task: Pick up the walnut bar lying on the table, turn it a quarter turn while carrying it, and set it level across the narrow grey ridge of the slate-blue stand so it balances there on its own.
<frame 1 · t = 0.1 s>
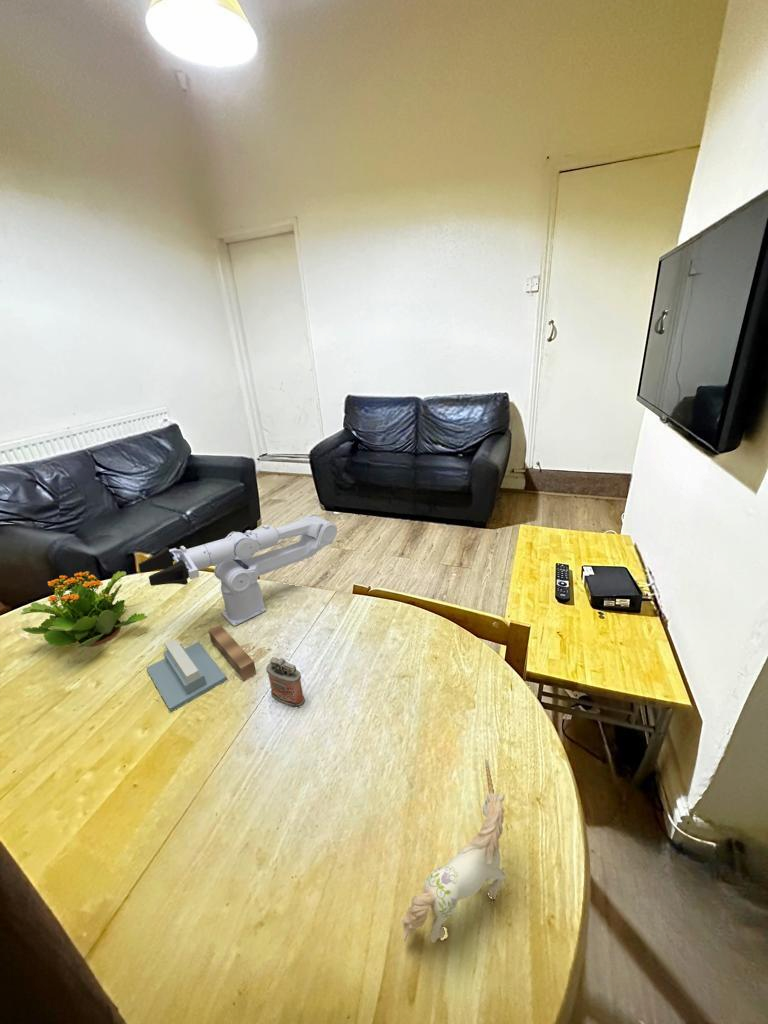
hand: (144, 574, 92), 22 cm above the table, tool horizontal, fingers open, 7 cm apart
lighter: (288, 698, 86), on the table
walnut bar: (232, 657, 98), on the table
unicorn figurine: (451, 876, 57), on the table
potted flower: (101, 636, 107), on the table
ridge stand: (186, 675, 93), on the table
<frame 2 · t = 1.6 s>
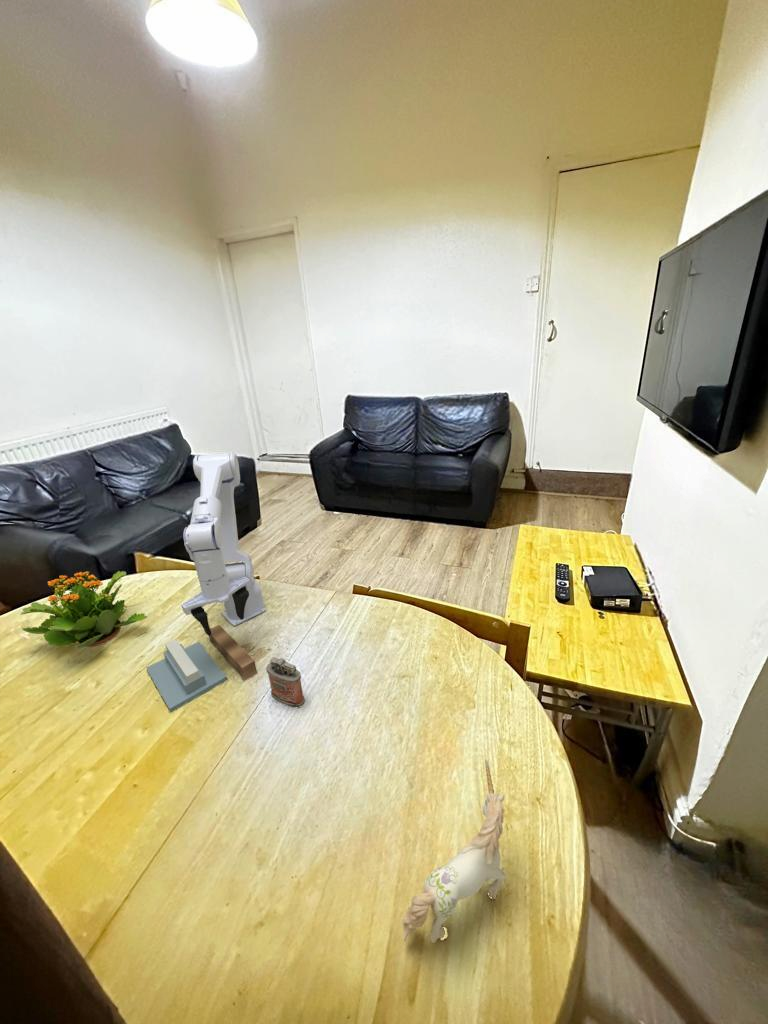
hand: (224, 625, 94), 9 cm above the table, tool pointing down, fingers open, 7 cm apart
nothing on the table moved.
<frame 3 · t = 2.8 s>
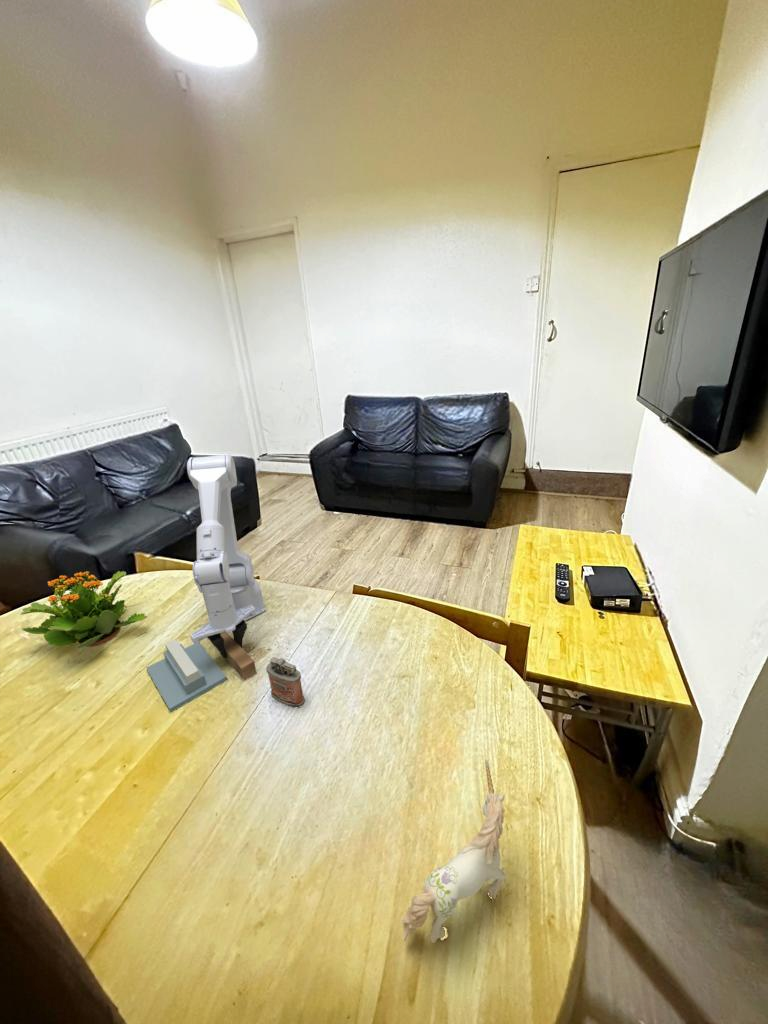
hand: (231, 652, 97), 1 cm above the table, tool pointing down, fingers closed on walnut bar, 3 cm apart
walnut bar: (232, 657, 98), on the table, touching gripper
everything else where it was.
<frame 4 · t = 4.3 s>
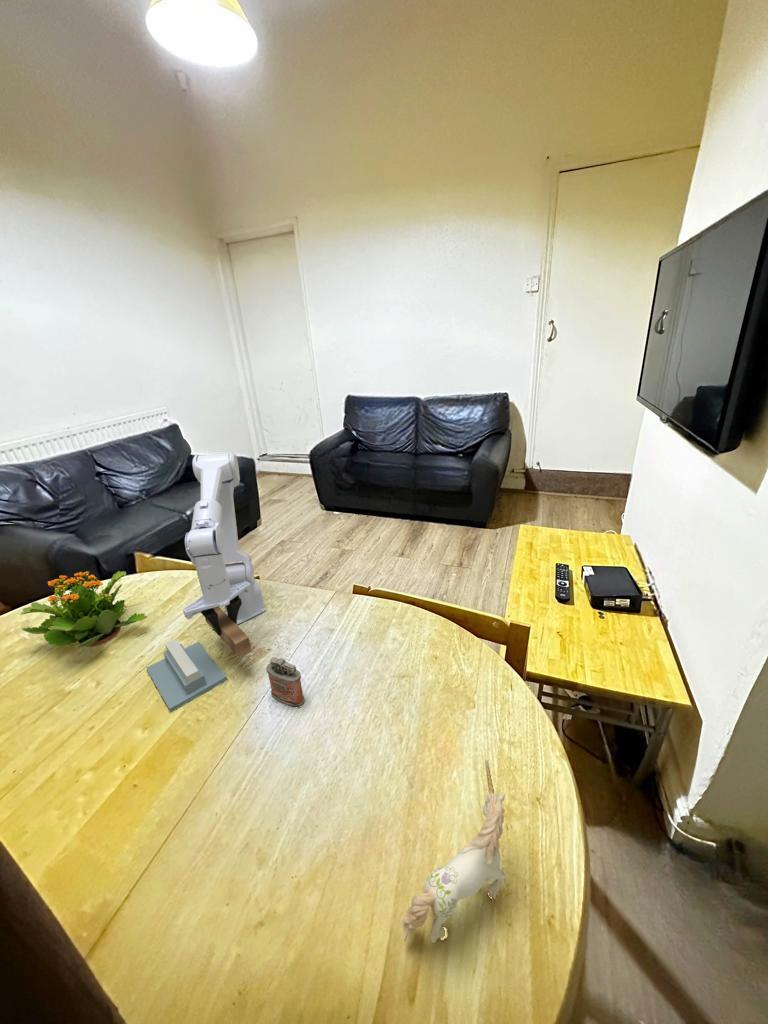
hand: (225, 629, 95), 8 cm above the table, tool pointing down, fingers closed on walnut bar, 3 cm apart
walnut bar: (227, 635, 95), point 6 cm above the table, touching gripper
everything else where it was.
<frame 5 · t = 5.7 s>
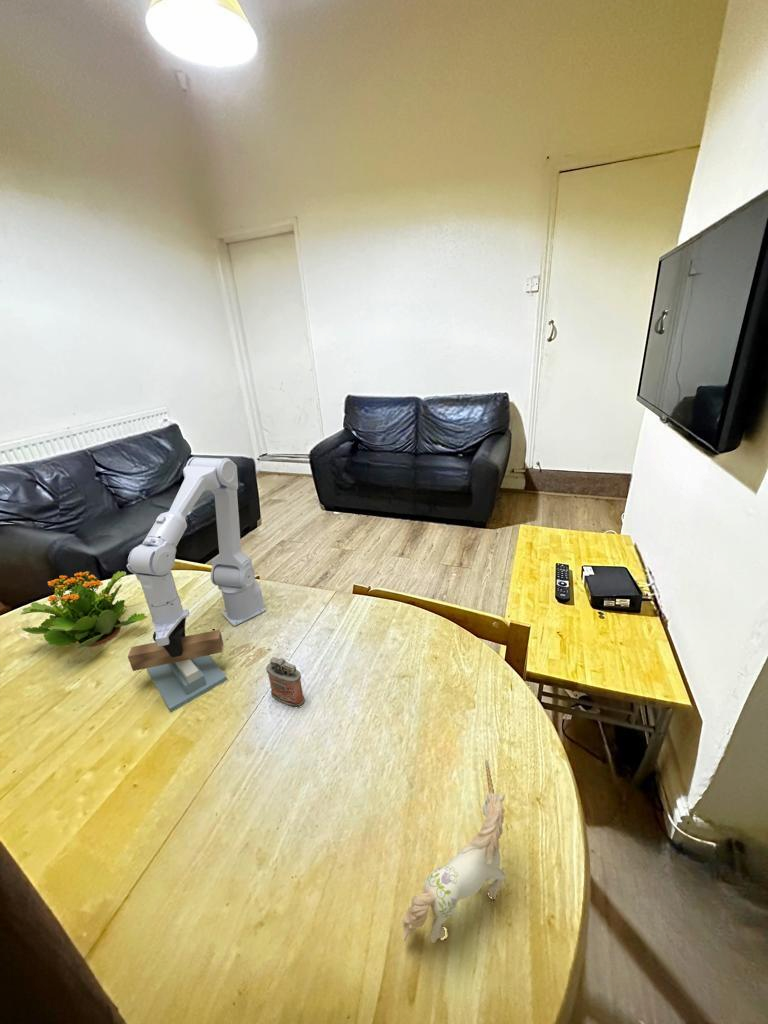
hand: (178, 649, 90), 7 cm above the table, tool pointing down, fingers closed on walnut bar, 3 cm apart
walnut bar: (179, 656, 91), point 5 cm above the table, touching gripper, ridge stand
everything else where it was.
when the fingers open (7 cm above the table, at t = 6.7 s): walnut bar stays where it is, resting on ridge stand.
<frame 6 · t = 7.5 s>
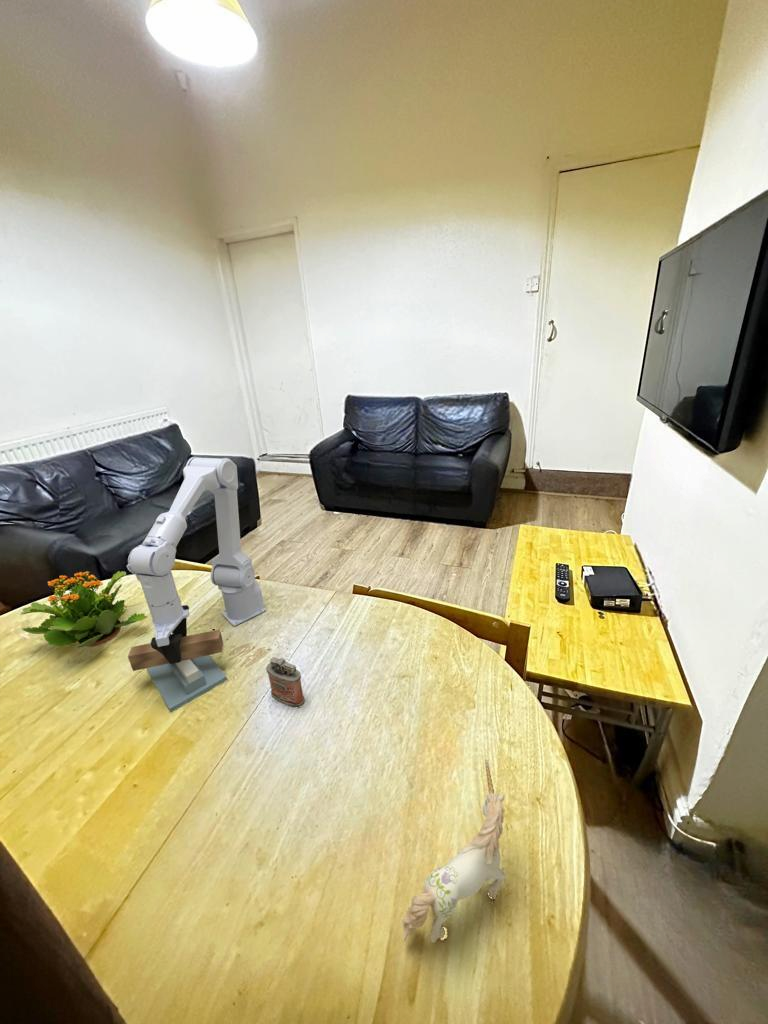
hand: (178, 649, 90), 7 cm above the table, tool pointing down, fingers open, 7 cm apart
walnut bar: (179, 656, 91), point 5 cm above the table, touching ridge stand
everything else where it was.
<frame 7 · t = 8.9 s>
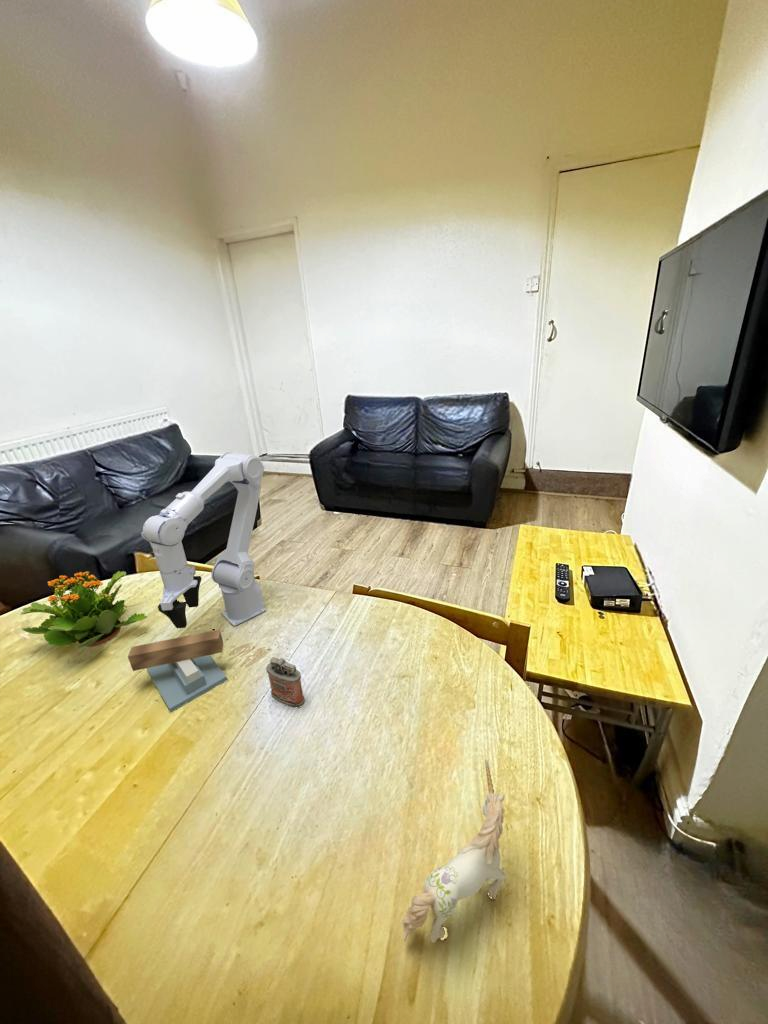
hand: (187, 616, 97), 10 cm above the table, tool pointing down, fingers open, 7 cm apart
nothing on the table moved.
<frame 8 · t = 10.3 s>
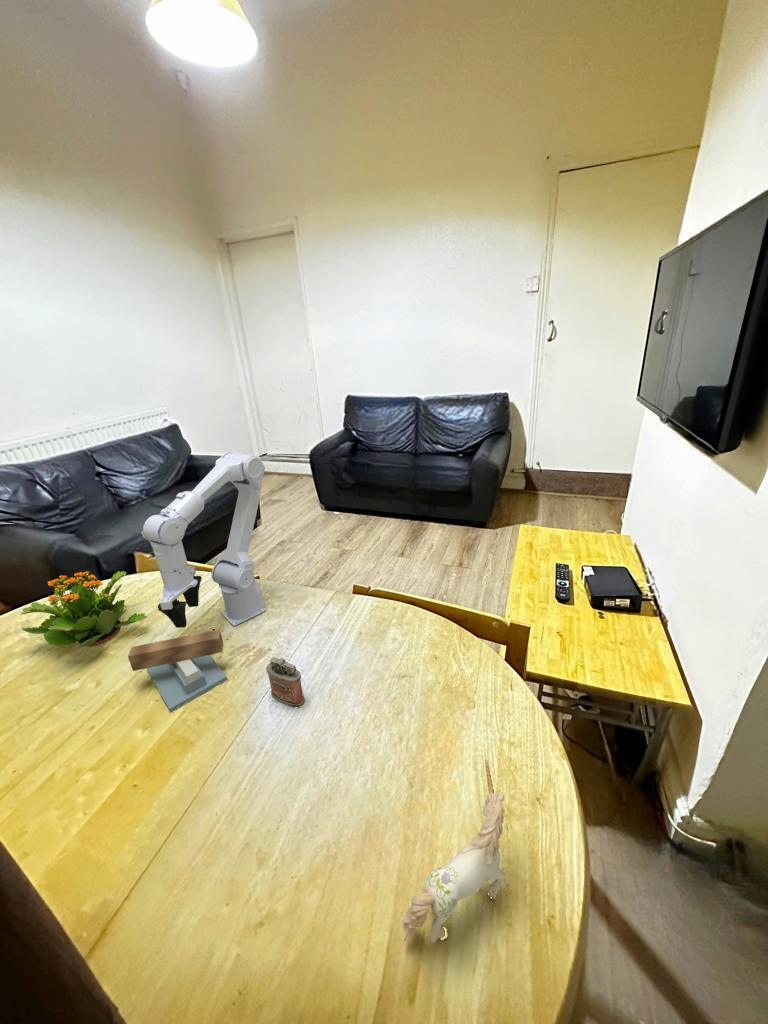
hand: (187, 615, 97), 10 cm above the table, tool pointing down, fingers open, 7 cm apart
nothing on the table moved.
at the end: walnut bar inside the target area on the ridge stand (0.2 cm from its centre), point 5.5 cm above the ridge stand's base; walnut bar tilted 0°; the gripper is holding nothing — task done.
